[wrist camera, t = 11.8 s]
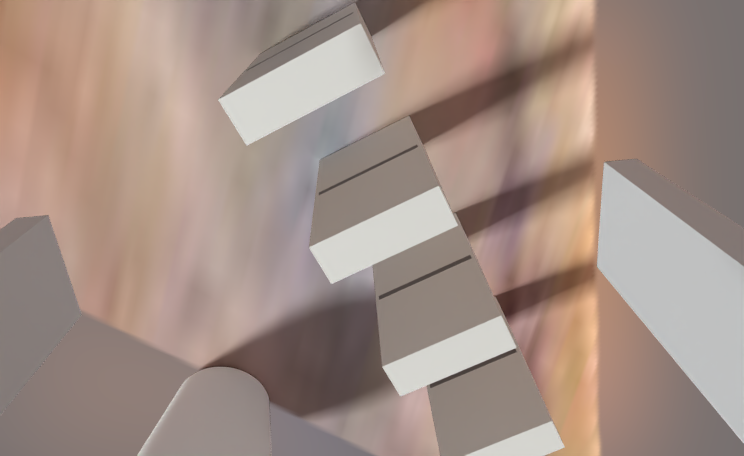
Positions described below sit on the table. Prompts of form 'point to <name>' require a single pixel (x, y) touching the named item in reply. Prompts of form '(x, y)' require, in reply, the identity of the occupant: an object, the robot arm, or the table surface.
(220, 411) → the cup
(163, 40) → the table surface
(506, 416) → the domino
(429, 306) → the domino
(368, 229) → the domino
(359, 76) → the domino
